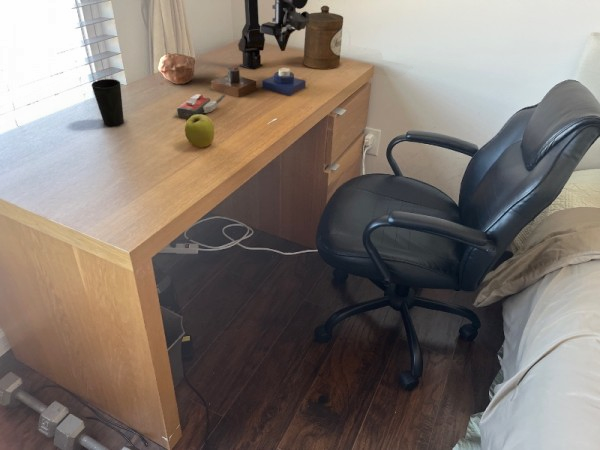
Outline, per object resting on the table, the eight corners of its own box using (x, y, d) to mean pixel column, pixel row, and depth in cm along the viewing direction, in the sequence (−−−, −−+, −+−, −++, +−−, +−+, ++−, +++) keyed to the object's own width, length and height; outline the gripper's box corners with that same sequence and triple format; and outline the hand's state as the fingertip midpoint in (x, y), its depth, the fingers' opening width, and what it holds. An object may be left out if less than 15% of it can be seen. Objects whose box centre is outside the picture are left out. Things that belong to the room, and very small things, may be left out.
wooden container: (340, 70, 190) (345, 10, 177) (303, 68, 189) (305, 9, 176) (338, 58, 202) (343, 2, 189) (303, 57, 201) (305, 1, 188)
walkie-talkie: (199, 122, 144) (227, 99, 160) (198, 108, 142) (226, 87, 157) (174, 118, 146) (203, 96, 162) (172, 104, 144) (202, 83, 159)
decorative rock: (161, 87, 167) (157, 58, 161) (158, 77, 175) (154, 49, 170) (199, 84, 171) (196, 56, 165) (194, 74, 179) (192, 47, 173)
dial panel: (212, 89, 167) (211, 80, 166) (230, 81, 174) (229, 73, 172) (238, 97, 162) (238, 88, 160) (256, 89, 169) (256, 80, 167)
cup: (132, 120, 144) (125, 81, 137) (117, 130, 138) (108, 90, 131) (111, 116, 146) (103, 77, 139) (94, 125, 140) (85, 85, 133)
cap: (276, 75, 168) (276, 69, 167) (282, 72, 171) (282, 67, 169) (285, 78, 166) (285, 72, 165) (292, 75, 169) (292, 69, 168)
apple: (210, 131, 137) (210, 103, 130) (217, 150, 133) (216, 123, 125) (183, 134, 135) (180, 106, 127) (188, 154, 131) (186, 126, 123)
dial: (234, 83, 164) (234, 71, 162) (225, 81, 166) (225, 68, 163) (242, 80, 167) (241, 68, 165) (233, 78, 169) (232, 65, 166)
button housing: (262, 88, 170) (262, 74, 167) (278, 80, 177) (278, 67, 174) (290, 95, 165) (290, 81, 162) (305, 87, 172) (306, 74, 169)
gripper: (288, 11, 146) (286, 62, 155) (319, 1, 159) (316, 49, 168) (259, 5, 151) (259, 55, 160) (291, -4, 163) (290, 43, 173)
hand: (282, 50), depth 165 cm, fingers closed
